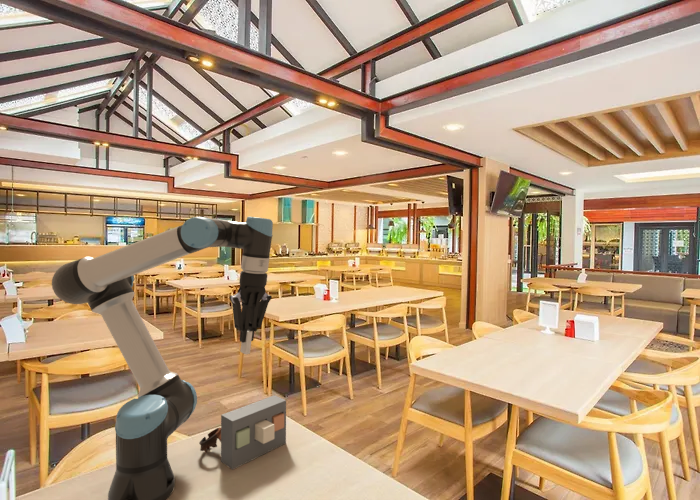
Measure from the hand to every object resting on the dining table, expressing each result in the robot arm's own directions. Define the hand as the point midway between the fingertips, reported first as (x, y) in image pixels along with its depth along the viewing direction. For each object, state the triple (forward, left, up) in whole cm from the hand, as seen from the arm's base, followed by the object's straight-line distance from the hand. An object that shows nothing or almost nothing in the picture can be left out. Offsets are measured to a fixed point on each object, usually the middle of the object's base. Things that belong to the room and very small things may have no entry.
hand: (245, 352), depth 112 cm
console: (+7, +4, -33) cm, 34 cm away
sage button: (0, +3, -27) cm, 28 cm away
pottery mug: (0, +12, -34) cm, 36 cm away
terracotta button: (+13, +3, -27) cm, 31 cm away
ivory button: (+7, 0, -27) cm, 28 cm away
